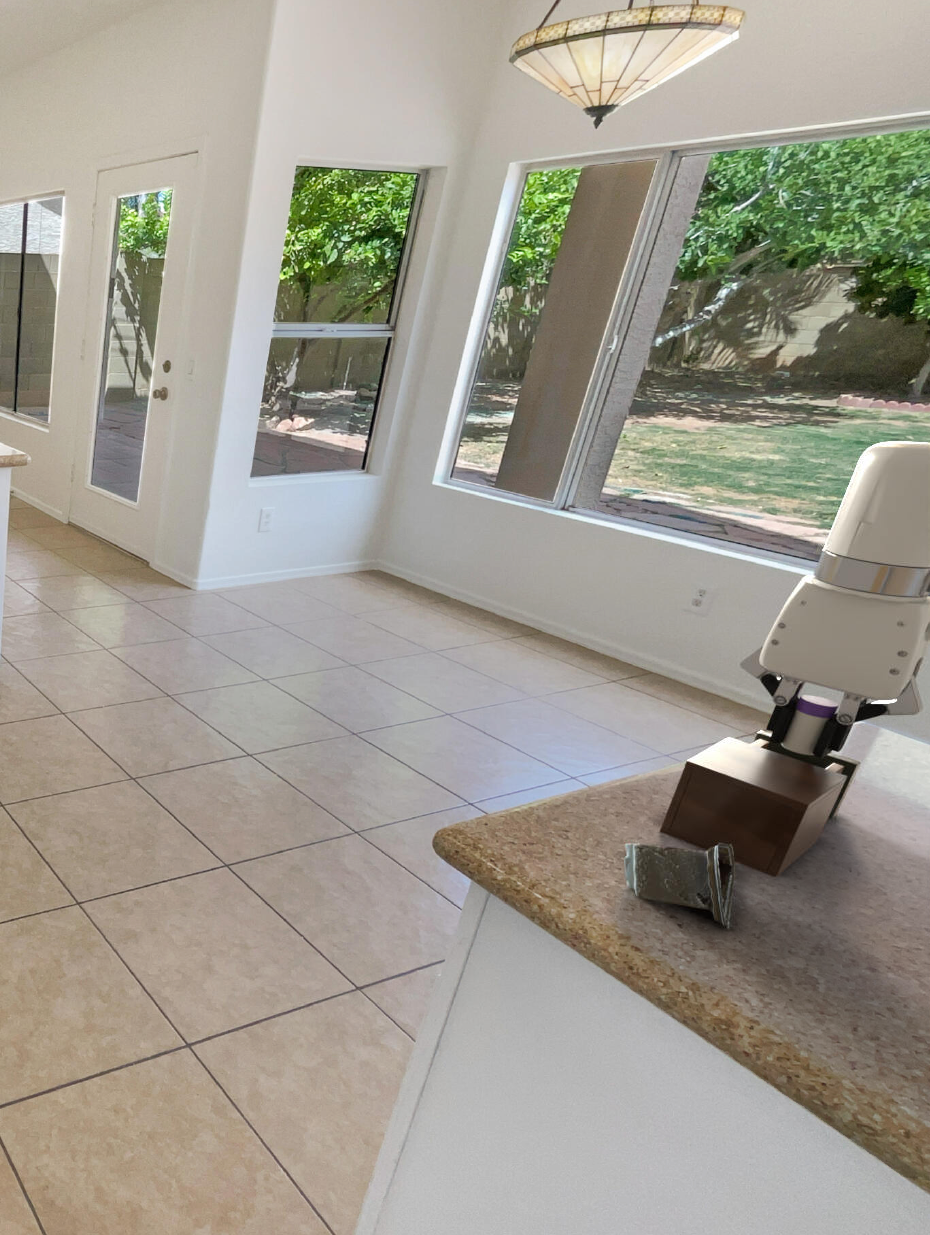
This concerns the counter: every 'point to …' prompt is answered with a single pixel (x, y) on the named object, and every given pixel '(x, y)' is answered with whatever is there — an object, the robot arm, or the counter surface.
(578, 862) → the counter surface
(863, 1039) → the counter surface
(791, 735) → the glue stick
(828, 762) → the drawer
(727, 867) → the squashed foil tin
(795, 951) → the counter surface
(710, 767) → the cabinet
